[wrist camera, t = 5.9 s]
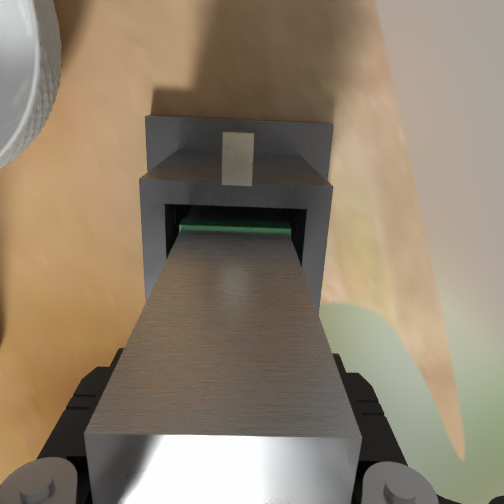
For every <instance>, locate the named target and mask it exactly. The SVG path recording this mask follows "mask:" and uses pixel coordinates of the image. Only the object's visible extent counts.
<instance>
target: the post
mask: <svg viewBox="0 0 504 504" xmlns="http://www.w3.org/2000/svg"><path fill="white" fill-rule="evenodd" d="M84 438H85V446H86V454H87V461H88V469H89V477H90V485H91V492H92V500H93V504H351V498H352V493H353V487H354V482H355V476H356V470H357V465H358V459H359V454H360V448H361V442H362V436H361V433H360V430H359V427H358V425H357V422H356V419H355V416H354V413H353V411H352V408H351V405H350V402H349V399H348V397H347V394H346V391H345V388H344V385H343V383H342V380H341V377H340V374H339V371H338V368H337V366H336V363H335V360H334V357H333V354H332V352H331V349H330V346H329V343H328V340H327V338H326V335H325V332H324V329H323V326H322V324H321V321H320V318H319V315H318V312H317V310H316V307H315V304H314V301H313V298H312V295H311V293H310V290H309V287H308V284H307V281H306V279H305V276H304V273H303V270H302V267H301V265H300V262H299V259H298V256H297V253H296V251H295V248H294V245H293V242H292V239H291V227H290V224H289V222H285V220H284V217H283V214H282V211H281V208H267V207H240V206H213V205H192V207H191V209H190V211H189V213H188V215H187V218H183V219H182V221H181V223H180V225H179V234H178V236H177V239H176V241H175V243H174V245H173V247H172V249H171V251H170V253H169V255H168V258H167V260H166V262H165V264H164V266H163V268H162V270H161V272H160V274H159V276H158V279H157V281H156V283H155V285H154V287H153V289H152V291H151V293H150V295H149V298H148V300H147V302H146V304H145V306H144V308H143V310H142V312H141V314H140V316H139V319H138V321H137V323H136V325H135V327H134V329H133V331H132V333H131V335H130V338H129V340H128V342H127V344H126V346H125V348H124V350H123V352H122V354H121V356H120V359H119V361H118V363H117V365H116V367H115V369H114V371H113V373H112V375H111V378H110V380H109V382H108V384H107V386H106V388H105V390H104V392H103V394H102V396H101V399H100V401H99V403H98V405H97V407H96V409H95V411H94V413H93V415H92V418H91V420H90V422H89V424H88V426H87V428H86V430H85V432H84Z"/></svg>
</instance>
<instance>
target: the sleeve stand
mask: <svg viewBox="0 0 504 504" xmlns="http://www.w3.org/2000/svg"><path fill="white" fill-rule="evenodd" d="M145 127H146V149H147V171H148V172H147V173H146V174H145V175H143V176H142V177H141V178H140V179H139V186H140V205H141V224H142V243H143V262H144V280H145V299H146V302H147V300H148V298H149V295H150V293H151V291H152V289H153V287H154V285H155V283H156V281H157V279H158V276H159V274H160V272H161V270H162V268H163V266H164V264H165V262H166V260H167V258H168V255H169V253H170V251H171V249H172V247H173V245H174V243H175V241H176V239H177V236H178V234H179V225H180V223H181V221H182V219H183V218H187V215H188V213H189V211H190V209H191V207H192V205H213V206H240V207H267V208H281V211H282V214H283V217H284V220H285V222H289V224H290V227H291V239H292V242H293V245H294V248H295V251H296V253H297V256H298V259H299V262H300V265H301V267H302V270H303V273H304V276H305V279H306V281H307V284H308V287H309V290H310V293H311V295H312V298H313V301H314V304H315V307H316V310H317V312H318V315H319V306H320V298H321V289H322V280H323V271H324V263H325V254H326V245H327V237H328V228H329V219H330V210H331V202H332V193H333V186H332V185H331V184H330V183H329V182H328V181H327V177H328V168H329V159H330V150H331V141H332V131H333V124H330V123H313V122H291V121H269V120H247V119H225V118H203V117H181V116H159V115H148V116H145Z"/></svg>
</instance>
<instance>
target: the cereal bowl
mask: <svg viewBox="0 0 504 504" xmlns="http://www.w3.org/2000/svg"><path fill="white" fill-rule="evenodd" d="M61 48H62V44H61V40H60V31H59V23H58V20H57V14H56V11H55V5H54V2H53V0H0V169H1V168H2V167H4V166H6V165H7V164H8V163H9V162H11V161H12V160H14V159H16V157H17V156H18V155H19V154H21V153H22V152H23V151H24V150H25V149H27V147H28V146H29V145H30V144H31V142H32V141H34V140H35V138H36V136H37V135H38V134H39V133H40V132H41V129H42V128H43V127H44V125H45V122H46V120H47V119H48V117H49V114H50V112H51V111H52V106H53V104H54V103H55V99H56V95H57V90H58V88H59V86H60V81H59V80H60V76H61V72H60V71H61V67H62V61H61V57H62V55H61Z"/></svg>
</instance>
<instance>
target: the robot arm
mask: <svg viewBox="0 0 504 504" xmlns="http://www.w3.org/2000/svg"><path fill="white" fill-rule="evenodd" d="M123 350H124V348H119V349H118V351H117V353H116V355H115V357H114V359H113V361H112V363H111V365H110V367H96V368H95V369H94V370H93V371H91V372H90V373H89V374H88V375H87V376H85V377H84V378H83V379H82V380H81V382H80V384H79V385H78V387H77V389H76V391H75V392H74V394H73V397H72V398H71V399H70V401H69V403H68V405H67V406H66V410H64V412H63V413H62V415H61V417H60V419H59V420H58V422H57V424H56V426H55V428H54V429H53V431H52V433H51V435H50V436H49V438H48V440H47V442H46V443H45V445H44V447H43V449H42V450H41V452H40V454H39V456H38V457H37V459H36V460H34V461H31V462H29V463H27V464H25V465H23V466H21V467H20V468H18V469H16V470H15V471H14V472H13V473H11V474H10V475H9V476H8V477H7V478H6V479H5V480H4V481H3V483H2V484H1V485H0V504H93V500H92V492H91V485H90V477H89V469H88V461H87V454H86V446H85V438H84V432H85V430H86V428H87V426H88V424H89V422H90V420H91V418H92V415H93V413H94V411H95V409H96V407H97V405H98V403H99V401H100V399H101V396H102V394H103V392H104V390H105V388H106V386H107V384H108V382H109V380H110V378H111V375H112V373H113V371H114V369H115V367H116V365H117V363H118V361H119V359H120V356H121V354H122V352H123ZM332 354H333V357H334V360H335V363H336V366H337V368H338V371H339V374H340V377H341V380H342V383H343V385H344V388H345V391H346V394H347V397H348V399H349V402H350V405H351V408H352V411H353V413H354V416H355V419H356V422H357V425H358V427H359V430H360V433H361V436H362V442H361V448H360V454H359V459H358V465H357V470H356V476H355V482H354V487H353V493H352V498H351V504H460V503H457V502H454V501H451V500H448V499H445V498H443V497H441V496H439V495H437V494H436V493H435V491H434V489H433V487H432V486H431V484H430V483H429V482H428V481H427V480H426V479H425V478H424V477H423V476H422V475H421V474H419V473H418V472H417V471H415V470H413V469H412V468H410V467H408V465H407V463H406V460H405V458H404V456H403V454H402V452H401V449H400V447H399V445H398V443H397V441H396V438H395V437H394V434H393V432H392V429H391V427H390V425H389V423H388V421H387V418H386V417H385V416H384V412H383V410H382V407H381V405H380V404H379V401H378V398H377V396H376V394H375V392H374V390H373V388H372V386H371V385H370V384H369V383H368V382H367V381H366V380H365V379H364V378H363V377H362V376H361V375H360V374H359V373H346V371H345V368H344V366H343V363H342V360H341V358H340V355H339V354H334V353H332ZM489 504H504V496H499V497H496V498H494V499H493V500H491V501H490V502H489Z"/></svg>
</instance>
